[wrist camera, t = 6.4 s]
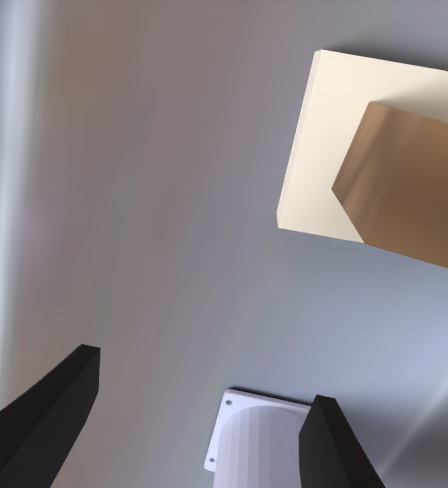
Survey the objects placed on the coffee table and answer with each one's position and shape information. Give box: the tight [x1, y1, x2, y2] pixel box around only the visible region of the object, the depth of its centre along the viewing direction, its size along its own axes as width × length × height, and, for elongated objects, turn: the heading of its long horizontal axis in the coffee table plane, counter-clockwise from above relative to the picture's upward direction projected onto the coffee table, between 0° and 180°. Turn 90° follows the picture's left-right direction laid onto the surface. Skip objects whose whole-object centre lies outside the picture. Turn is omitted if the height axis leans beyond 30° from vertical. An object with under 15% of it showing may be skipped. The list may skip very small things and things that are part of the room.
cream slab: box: [277, 50, 448, 243], centre depth 17 cm, size 8×8×2 cm
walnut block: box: [331, 102, 448, 268], centre depth 13 cm, size 4×4×6 cm
